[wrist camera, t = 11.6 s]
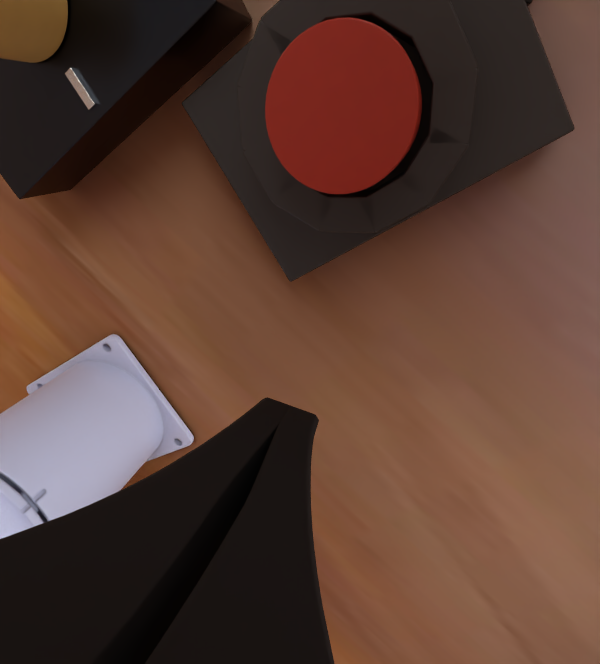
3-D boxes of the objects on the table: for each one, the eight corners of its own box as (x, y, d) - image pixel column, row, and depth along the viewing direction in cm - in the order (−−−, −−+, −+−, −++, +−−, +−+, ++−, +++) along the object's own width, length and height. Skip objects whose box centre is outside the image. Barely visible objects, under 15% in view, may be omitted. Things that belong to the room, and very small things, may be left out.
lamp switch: (325, 211, 15) (313, 221, 13) (258, 91, 14) (236, 87, 12) (447, 138, 13) (448, 140, 12) (378, -8, 12) (370, -27, 10)
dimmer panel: (70, 190, 21) (15, 200, 19) (-58, 9, 19) (-140, -10, 17) (253, 20, 16) (214, -1, 13) (103, -257, 14) (20, -350, 11)
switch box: (301, 270, 20) (275, 297, 17) (202, 104, 18) (153, 101, 15) (562, 128, 15) (593, 130, 12) (462, -123, 13) (469, -199, 10)
